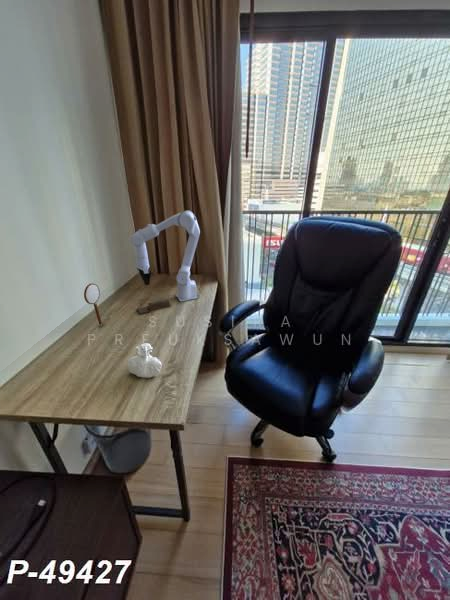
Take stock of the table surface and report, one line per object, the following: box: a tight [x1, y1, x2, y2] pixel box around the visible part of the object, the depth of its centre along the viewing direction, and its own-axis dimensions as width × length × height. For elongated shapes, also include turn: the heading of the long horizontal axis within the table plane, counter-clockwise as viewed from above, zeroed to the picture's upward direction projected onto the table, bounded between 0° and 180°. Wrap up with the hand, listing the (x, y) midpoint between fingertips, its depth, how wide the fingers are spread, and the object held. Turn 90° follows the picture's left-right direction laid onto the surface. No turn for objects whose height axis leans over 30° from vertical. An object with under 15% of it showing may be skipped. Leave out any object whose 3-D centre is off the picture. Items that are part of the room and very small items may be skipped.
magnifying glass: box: [83, 283, 103, 327], centre depth 106 cm, size 9×2×20 cm, turn 169°
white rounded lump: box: [127, 342, 163, 379], centre depth 83 cm, size 12×8×11 cm
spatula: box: [137, 298, 171, 315], centre depth 123 cm, size 15×5×3 cm, turn 116°
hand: (145, 282), depth 130 cm, fingers open, 7 cm apart
